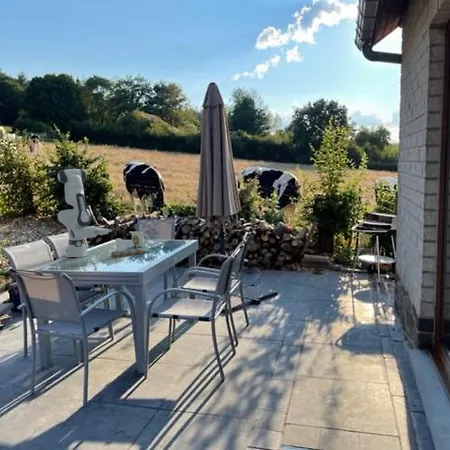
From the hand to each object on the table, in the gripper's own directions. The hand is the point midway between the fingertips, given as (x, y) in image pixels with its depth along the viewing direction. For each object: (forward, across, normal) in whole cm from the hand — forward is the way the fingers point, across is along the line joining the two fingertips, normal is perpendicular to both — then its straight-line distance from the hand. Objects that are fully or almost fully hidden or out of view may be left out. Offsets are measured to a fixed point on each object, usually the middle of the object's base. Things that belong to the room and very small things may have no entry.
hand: (109, 229), depth 373 cm
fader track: (+14, 0, +22) cm, 26 cm away
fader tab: (+7, 0, +20) cm, 21 cm away
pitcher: (+38, +33, +22) cm, 55 cm away
